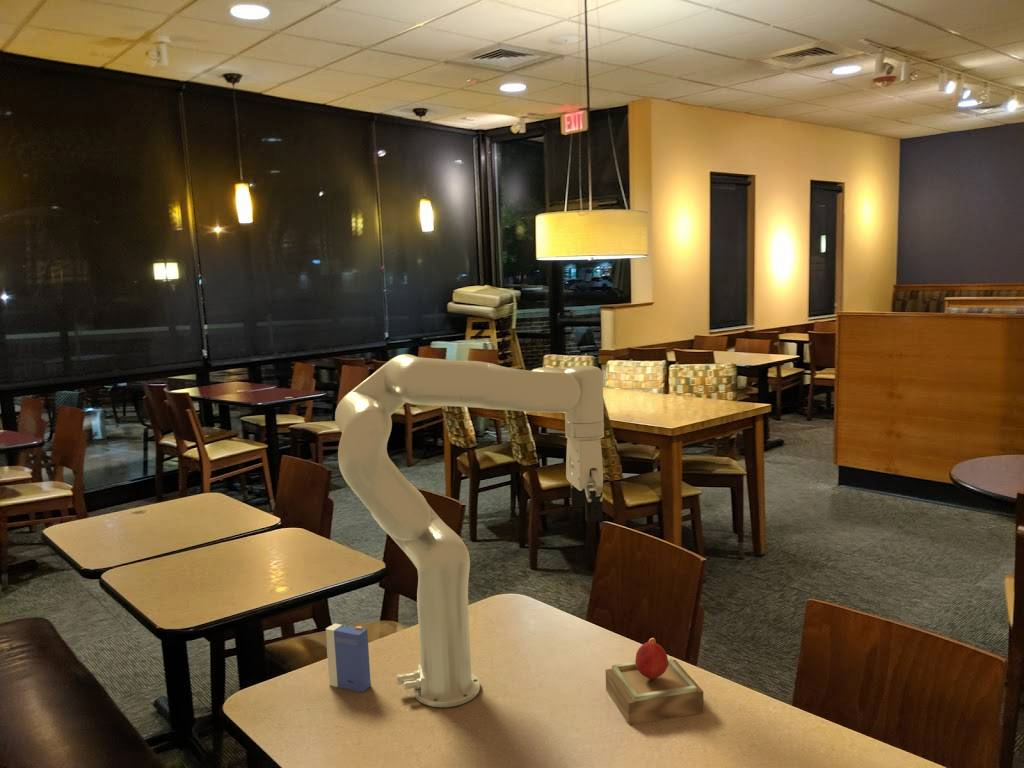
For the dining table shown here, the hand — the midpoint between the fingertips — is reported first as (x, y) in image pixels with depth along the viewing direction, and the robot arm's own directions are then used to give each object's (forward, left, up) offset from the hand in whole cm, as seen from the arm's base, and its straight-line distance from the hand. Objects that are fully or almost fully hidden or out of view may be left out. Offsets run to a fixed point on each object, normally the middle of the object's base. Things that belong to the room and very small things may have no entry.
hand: (586, 513), depth 157 cm
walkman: (-48, +2, -31) cm, 57 cm away
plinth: (+6, -19, -30) cm, 36 cm away
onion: (+6, -19, -26) cm, 33 cm away
